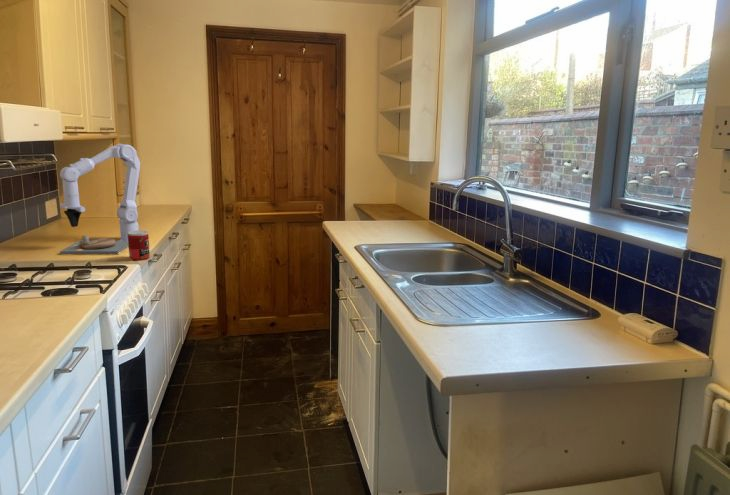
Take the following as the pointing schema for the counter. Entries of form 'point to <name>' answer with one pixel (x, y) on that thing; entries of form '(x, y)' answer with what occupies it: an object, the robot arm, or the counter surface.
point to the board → (110, 250)
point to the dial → (96, 243)
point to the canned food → (138, 245)
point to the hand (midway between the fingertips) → (74, 226)
